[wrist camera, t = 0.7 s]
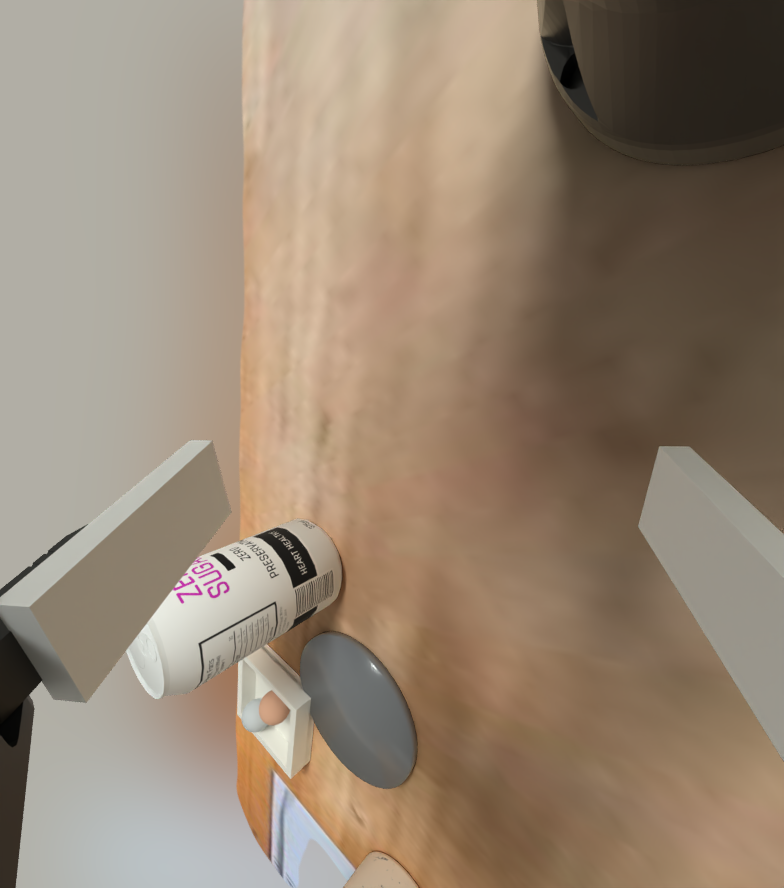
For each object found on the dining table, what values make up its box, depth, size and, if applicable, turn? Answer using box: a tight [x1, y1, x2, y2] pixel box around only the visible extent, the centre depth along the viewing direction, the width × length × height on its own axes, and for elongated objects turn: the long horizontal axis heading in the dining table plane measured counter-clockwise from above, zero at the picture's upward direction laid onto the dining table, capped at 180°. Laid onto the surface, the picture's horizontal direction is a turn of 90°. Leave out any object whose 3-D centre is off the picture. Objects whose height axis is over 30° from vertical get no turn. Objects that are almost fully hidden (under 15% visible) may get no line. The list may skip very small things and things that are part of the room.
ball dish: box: [237, 644, 314, 779], centre depth 47 cm, size 10×10×3 cm
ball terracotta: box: [259, 690, 290, 725], centre depth 44 cm, size 3×3×3 cm
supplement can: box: [126, 518, 342, 699], centre depth 34 cm, size 8×8×15 cm
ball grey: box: [242, 698, 268, 732], centre depth 47 cm, size 3×3×3 cm
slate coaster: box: [300, 631, 417, 789], centre depth 39 cm, size 14×14×1 cm
